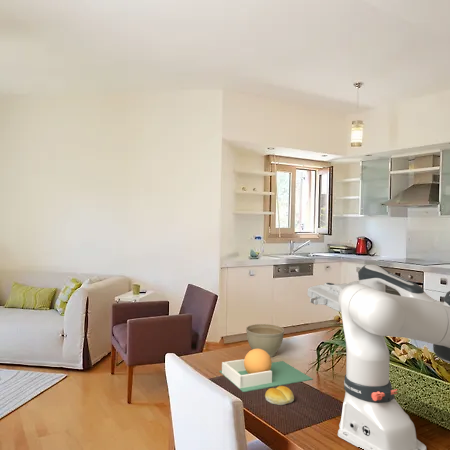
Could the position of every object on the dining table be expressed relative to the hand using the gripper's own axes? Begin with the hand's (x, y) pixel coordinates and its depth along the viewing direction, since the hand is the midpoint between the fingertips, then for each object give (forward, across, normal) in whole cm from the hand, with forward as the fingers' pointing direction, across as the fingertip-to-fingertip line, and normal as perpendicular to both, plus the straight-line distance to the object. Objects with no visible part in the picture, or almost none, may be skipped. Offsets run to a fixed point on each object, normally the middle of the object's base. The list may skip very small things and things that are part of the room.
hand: (312, 301), depth 157 cm
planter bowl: (+11, +18, -28) cm, 35 cm away
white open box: (+30, -2, -23) cm, 38 cm away
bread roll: (+28, -21, -21) cm, 41 cm away
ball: (+26, -2, -18) cm, 31 cm away
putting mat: (+23, -2, -24) cm, 33 cm away
